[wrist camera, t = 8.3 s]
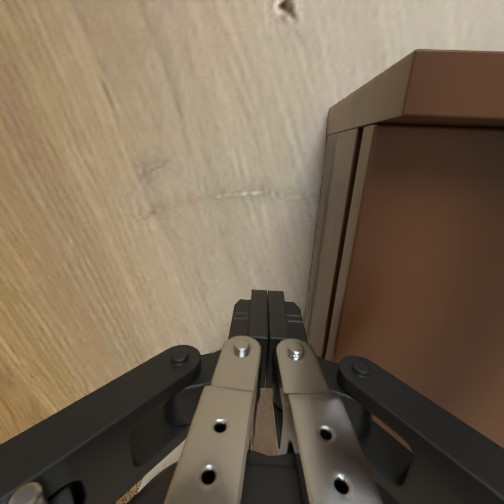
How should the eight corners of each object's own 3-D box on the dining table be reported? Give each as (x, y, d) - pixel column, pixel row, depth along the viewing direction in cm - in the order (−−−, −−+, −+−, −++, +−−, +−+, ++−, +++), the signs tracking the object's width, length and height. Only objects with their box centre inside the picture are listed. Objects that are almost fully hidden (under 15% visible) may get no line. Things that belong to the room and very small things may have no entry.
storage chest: (293, 394, 19) (310, 552, 12) (329, 107, 13) (415, 47, 5) (409, 403, 19) (502, 569, 11) (503, 114, 13) (853, 60, 5)
